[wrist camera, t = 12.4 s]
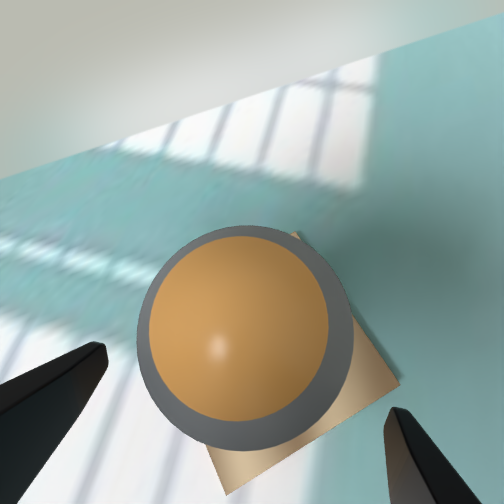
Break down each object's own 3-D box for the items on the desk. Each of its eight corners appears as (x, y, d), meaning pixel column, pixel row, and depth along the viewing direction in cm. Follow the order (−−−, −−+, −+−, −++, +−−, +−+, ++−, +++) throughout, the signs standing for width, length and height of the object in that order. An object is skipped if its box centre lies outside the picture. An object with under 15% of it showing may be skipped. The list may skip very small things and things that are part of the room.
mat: (228, 491, 17) (226, 495, 17) (154, 312, 21) (150, 310, 21) (396, 384, 18) (400, 384, 18) (294, 234, 23) (295, 231, 22)
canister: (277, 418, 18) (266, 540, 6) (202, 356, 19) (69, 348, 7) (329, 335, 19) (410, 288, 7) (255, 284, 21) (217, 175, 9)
